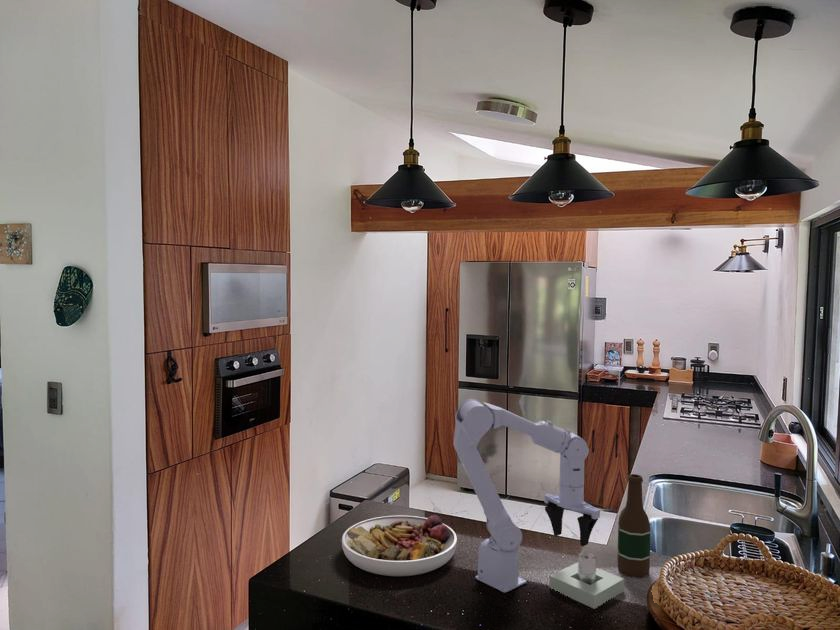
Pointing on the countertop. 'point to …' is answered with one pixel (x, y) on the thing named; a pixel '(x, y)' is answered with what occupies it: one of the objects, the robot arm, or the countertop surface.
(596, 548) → the countertop surface
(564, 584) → the hole block
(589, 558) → the steel peg
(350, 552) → the bowl
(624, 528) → the beer bottle
